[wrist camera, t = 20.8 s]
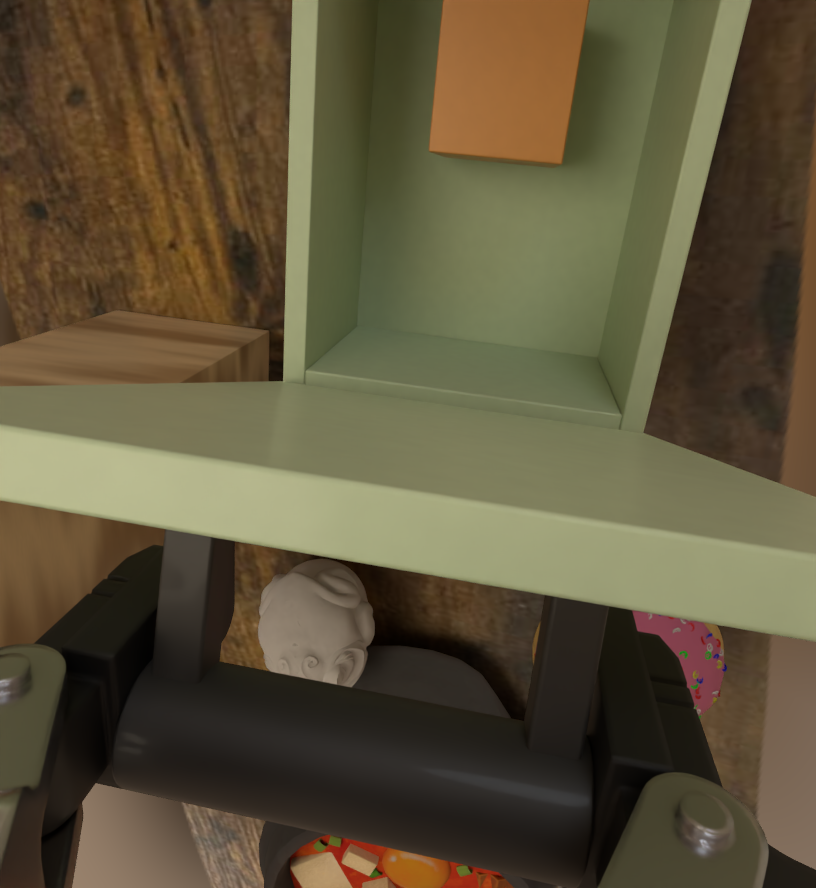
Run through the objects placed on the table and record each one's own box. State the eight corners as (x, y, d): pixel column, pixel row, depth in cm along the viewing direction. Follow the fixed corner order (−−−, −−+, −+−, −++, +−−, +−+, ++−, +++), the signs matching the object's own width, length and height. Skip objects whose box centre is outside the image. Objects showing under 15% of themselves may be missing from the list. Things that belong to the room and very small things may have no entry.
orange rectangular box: (458, 16, 25) (444, -20, 21) (579, 25, 25) (591, -11, 20) (443, 157, 27) (427, 151, 23) (555, 168, 27) (562, 164, 22)
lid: (-220, 388, 7) (-230, 832, 8) (1095, 598, 6) (955, 1125, 6) (279, 380, 23) (263, 521, 24) (646, 433, 22) (619, 582, 22)
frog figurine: (301, 640, 39) (257, 731, 32) (266, 537, 37) (211, 612, 30) (400, 631, 37) (375, 723, 31) (369, 523, 35) (335, 599, 29)
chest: (367, -56, 26) (296, -166, 18) (699, -34, 24) (788, -143, 16) (343, 336, 32) (282, 388, 24) (609, 371, 30) (642, 440, 22)
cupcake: (581, 689, 37) (606, 905, 26) (499, 576, 35) (488, 755, 24) (729, 629, 34) (828, 842, 23) (648, 502, 32) (714, 667, 21)
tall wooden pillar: (116, 309, 33) (-521, 508, 13) (269, 330, 32) (-158, 578, 12) (127, 455, 36) (-375, 800, 16) (267, 477, 35) (-76, 874, 15)
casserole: (601, 924, 44) (618, 1084, 36) (337, 921, 48) (302, 1064, 40) (539, 607, 35) (544, 725, 28) (228, 638, 40) (158, 748, 32)
